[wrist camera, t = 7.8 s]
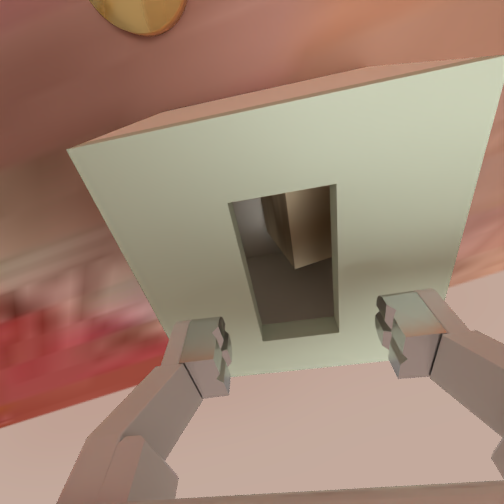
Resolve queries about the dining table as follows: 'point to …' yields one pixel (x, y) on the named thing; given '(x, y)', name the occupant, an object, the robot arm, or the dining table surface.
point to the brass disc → (141, 14)
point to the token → (300, 224)
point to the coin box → (294, 179)
